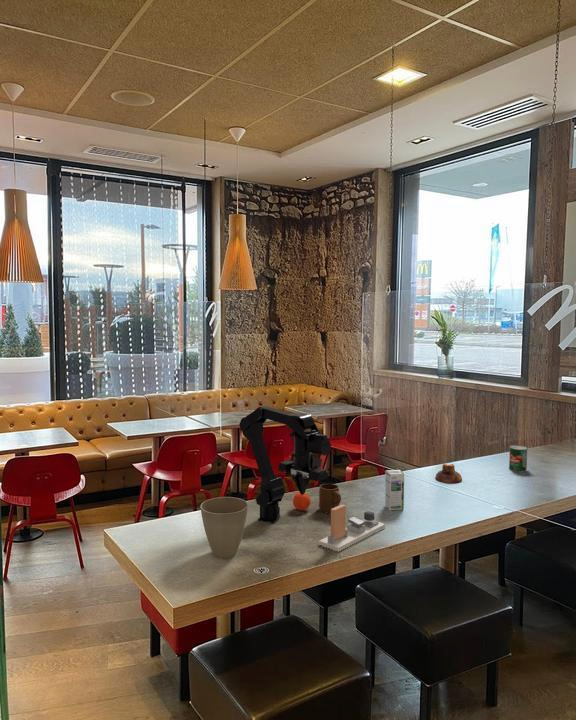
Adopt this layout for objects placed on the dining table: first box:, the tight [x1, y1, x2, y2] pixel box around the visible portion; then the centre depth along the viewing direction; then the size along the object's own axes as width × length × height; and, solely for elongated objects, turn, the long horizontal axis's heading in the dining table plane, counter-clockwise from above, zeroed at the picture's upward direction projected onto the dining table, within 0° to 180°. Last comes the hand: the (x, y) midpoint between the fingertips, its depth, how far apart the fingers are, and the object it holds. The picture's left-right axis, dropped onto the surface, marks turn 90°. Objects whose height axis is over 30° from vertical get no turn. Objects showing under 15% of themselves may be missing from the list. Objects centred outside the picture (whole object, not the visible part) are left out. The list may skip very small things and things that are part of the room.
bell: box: [435, 463, 463, 484], centre depth 259 cm, size 12×12×7 cm
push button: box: [363, 510, 375, 521], centre depth 201 cm, size 4×4×2 cm
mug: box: [318, 483, 342, 514], centre depth 217 cm, size 12×8×9 cm, turn 25°
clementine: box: [292, 491, 312, 511], centre depth 219 cm, size 8×7×7 cm
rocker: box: [347, 516, 364, 527], centre depth 195 cm, size 4×3×1 cm
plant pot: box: [199, 496, 249, 559], centre depth 180 cm, size 15×15×16 cm
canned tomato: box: [508, 444, 528, 473], centre depth 274 cm, size 8×8×11 cm
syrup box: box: [384, 469, 405, 511], centre depth 222 cm, size 6×6×14 cm
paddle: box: [330, 504, 347, 541], centre depth 188 cm, size 2×6×11 cm, turn 138°
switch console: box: [318, 518, 386, 553], centre depth 194 cm, size 8×27×4 cm, turn 138°
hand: (302, 494), depth 198 cm, fingers closed
